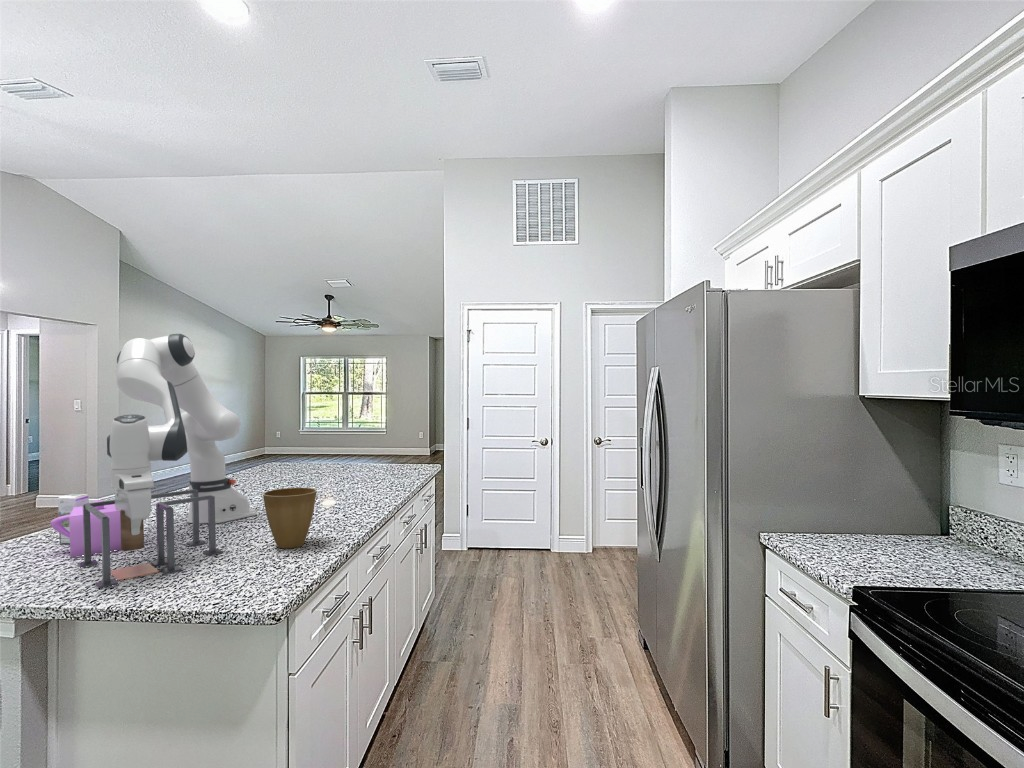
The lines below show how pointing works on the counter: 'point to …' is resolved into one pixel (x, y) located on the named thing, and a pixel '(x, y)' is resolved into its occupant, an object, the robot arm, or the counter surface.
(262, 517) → the counter surface
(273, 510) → the plant pot
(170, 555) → the dark grey bar frame
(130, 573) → the tile
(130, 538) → the walnut cylinder
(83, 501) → the syrup box
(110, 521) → the teapot
